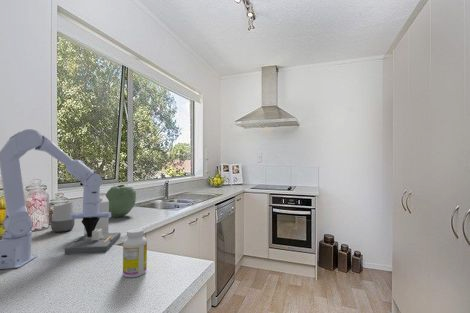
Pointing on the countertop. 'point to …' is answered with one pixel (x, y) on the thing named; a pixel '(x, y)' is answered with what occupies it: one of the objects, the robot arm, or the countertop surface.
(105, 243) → the console board
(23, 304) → the countertop surface
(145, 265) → the supplement bottle
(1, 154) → the robot arm
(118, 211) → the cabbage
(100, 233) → the fader knob
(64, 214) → the smart speaker
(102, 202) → the milk carton
